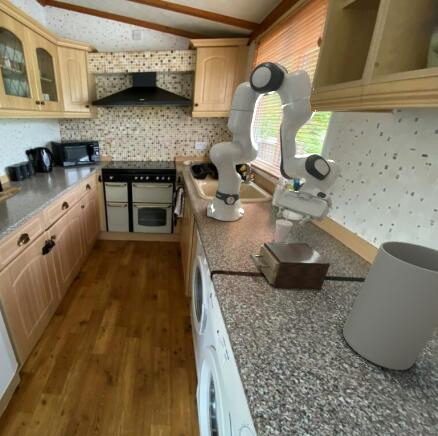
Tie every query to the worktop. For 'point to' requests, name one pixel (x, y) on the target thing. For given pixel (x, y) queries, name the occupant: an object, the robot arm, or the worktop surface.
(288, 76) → the robot arm
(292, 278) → the cabinet
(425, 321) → the cylinder vase
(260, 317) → the worktop surface
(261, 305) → the worktop surface
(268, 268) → the drawer
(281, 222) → the smoothie
